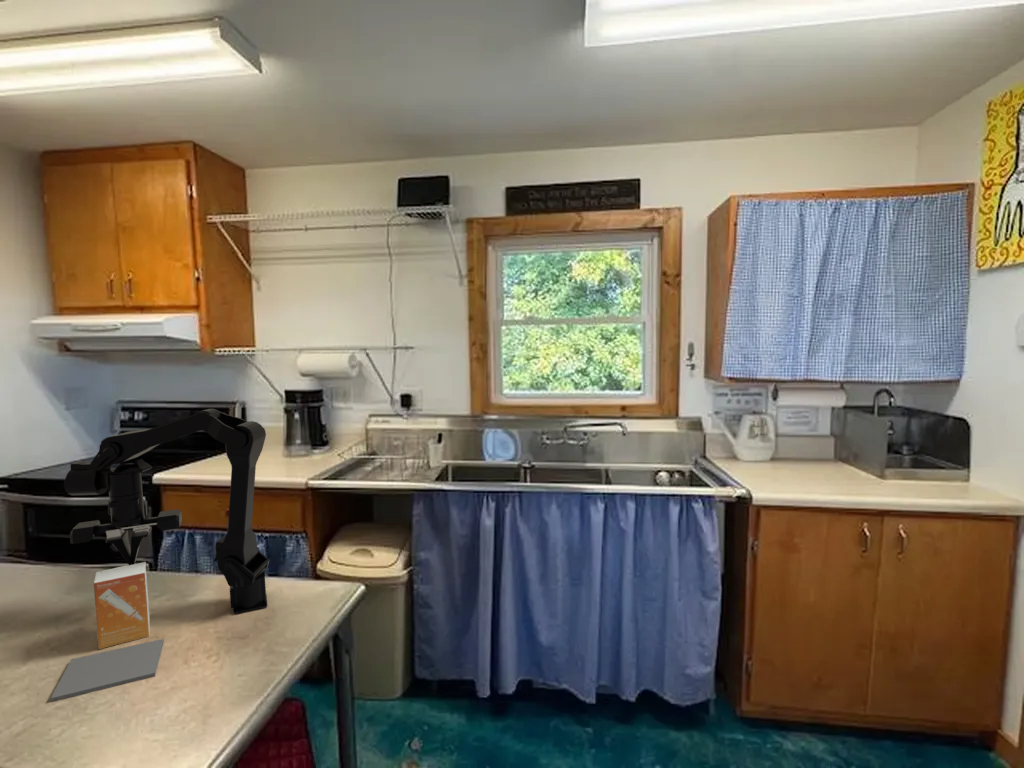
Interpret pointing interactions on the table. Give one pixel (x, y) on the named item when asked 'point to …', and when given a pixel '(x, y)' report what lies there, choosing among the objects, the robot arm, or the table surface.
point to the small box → (121, 604)
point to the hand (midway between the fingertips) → (132, 565)
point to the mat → (109, 669)
